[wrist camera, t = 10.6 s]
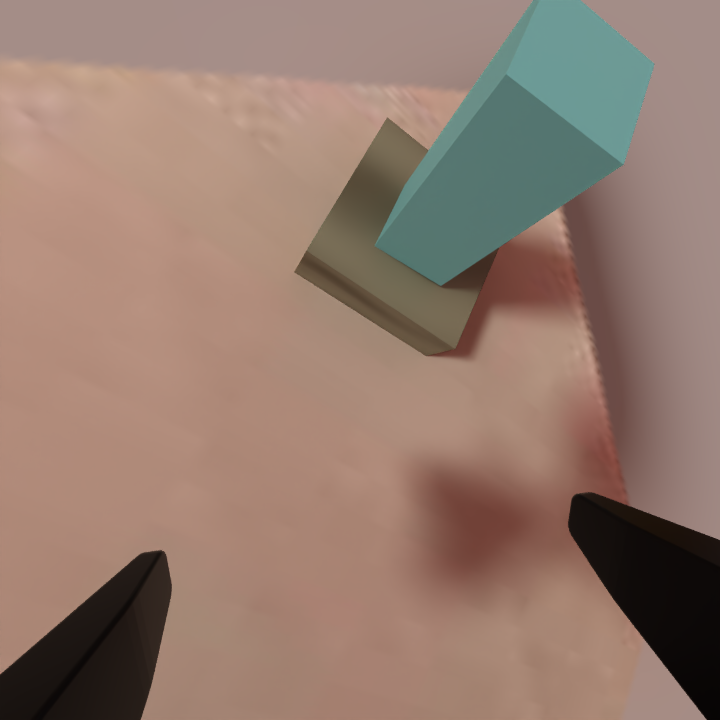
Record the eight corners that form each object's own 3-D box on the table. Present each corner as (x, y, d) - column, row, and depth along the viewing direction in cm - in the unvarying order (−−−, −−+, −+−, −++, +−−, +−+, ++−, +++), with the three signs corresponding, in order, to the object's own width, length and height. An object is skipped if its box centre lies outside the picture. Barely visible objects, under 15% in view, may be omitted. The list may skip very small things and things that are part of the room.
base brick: (421, 357, 23) (455, 348, 20) (292, 274, 21) (306, 250, 18) (474, 242, 26) (511, 218, 22) (363, 157, 23) (387, 117, 20)
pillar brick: (440, 286, 20) (623, 164, 10) (374, 246, 19) (506, 74, 9) (466, 225, 21) (654, 63, 11) (404, 185, 20) (550, -26, 10)
